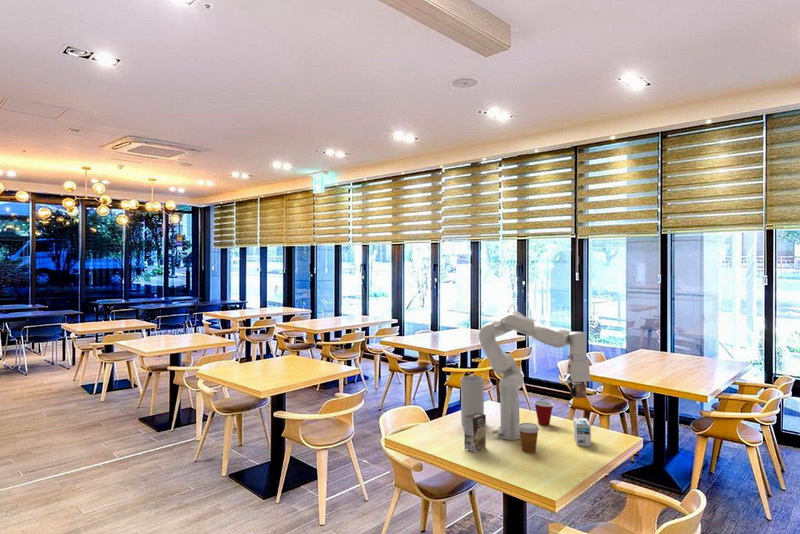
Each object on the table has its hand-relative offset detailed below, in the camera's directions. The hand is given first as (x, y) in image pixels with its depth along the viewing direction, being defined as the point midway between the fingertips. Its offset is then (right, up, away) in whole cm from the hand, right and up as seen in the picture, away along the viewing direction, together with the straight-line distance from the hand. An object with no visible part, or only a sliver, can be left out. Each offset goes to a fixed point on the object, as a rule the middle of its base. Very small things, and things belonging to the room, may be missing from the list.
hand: (578, 394), depth 238 cm
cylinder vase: (-45, -26, +39) cm, 65 cm away
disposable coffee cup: (-25, -26, -4) cm, 36 cm away
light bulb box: (+4, -26, +7) cm, 27 cm away
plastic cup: (-6, -26, +36) cm, 45 cm away
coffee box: (-50, -26, 0) cm, 56 cm away
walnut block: (0, -1, 0) cm, 1 cm away
